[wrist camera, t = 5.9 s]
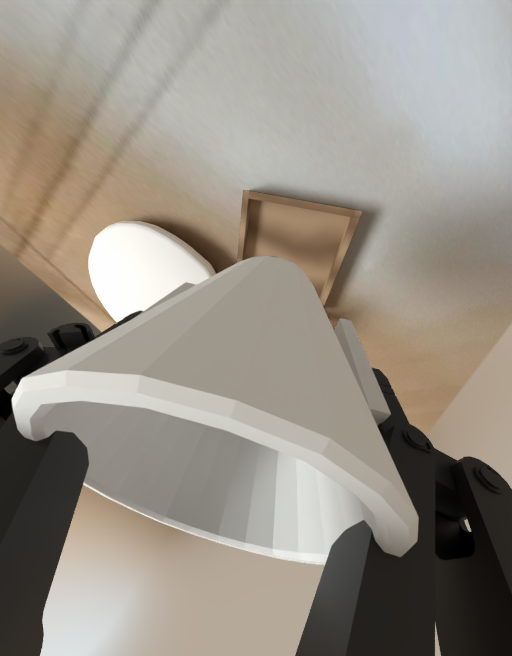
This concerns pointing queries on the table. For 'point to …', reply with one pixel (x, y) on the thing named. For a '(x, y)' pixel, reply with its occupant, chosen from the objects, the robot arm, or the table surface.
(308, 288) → the cup
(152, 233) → the plate
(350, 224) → the rack
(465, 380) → the table surface
